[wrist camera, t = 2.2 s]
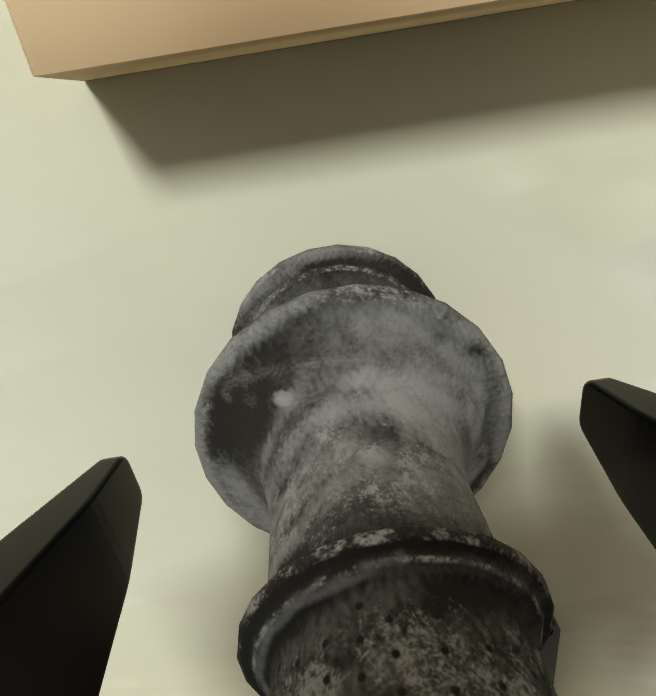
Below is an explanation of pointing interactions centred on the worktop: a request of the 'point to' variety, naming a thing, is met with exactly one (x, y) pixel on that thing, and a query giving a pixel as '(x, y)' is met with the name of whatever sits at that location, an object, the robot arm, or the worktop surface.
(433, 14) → the dock
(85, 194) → the worktop surface
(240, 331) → the salt shaker
